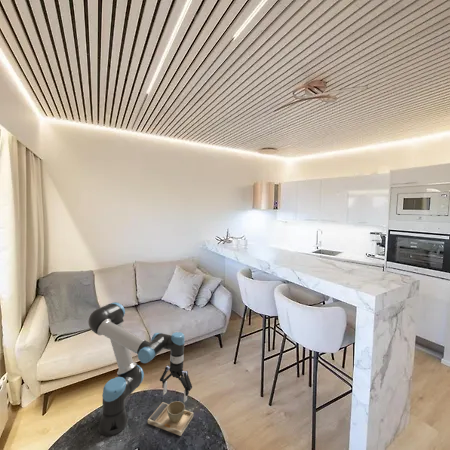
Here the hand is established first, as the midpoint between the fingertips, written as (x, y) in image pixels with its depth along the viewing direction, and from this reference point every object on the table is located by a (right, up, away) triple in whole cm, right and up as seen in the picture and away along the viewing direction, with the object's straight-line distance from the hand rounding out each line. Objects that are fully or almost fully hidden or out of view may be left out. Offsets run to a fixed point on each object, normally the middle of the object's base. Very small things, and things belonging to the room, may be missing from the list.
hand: (174, 397), depth 141 cm
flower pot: (0, -14, 0) cm, 14 cm away
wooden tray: (-3, -14, +1) cm, 14 cm away
